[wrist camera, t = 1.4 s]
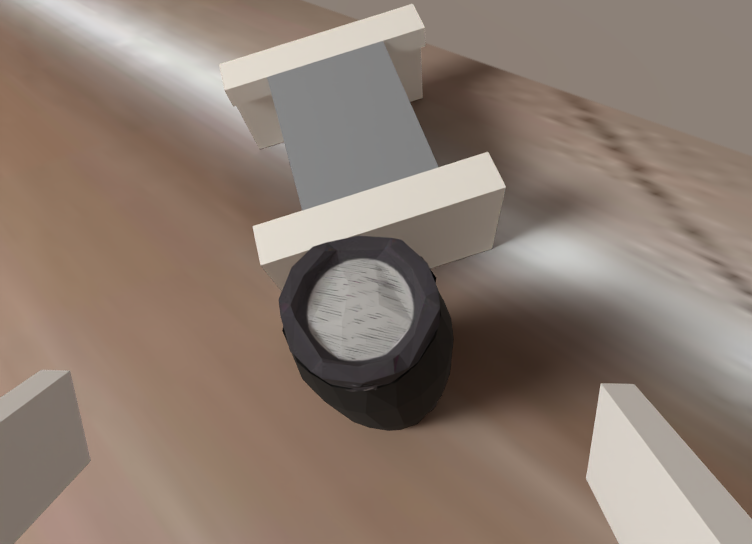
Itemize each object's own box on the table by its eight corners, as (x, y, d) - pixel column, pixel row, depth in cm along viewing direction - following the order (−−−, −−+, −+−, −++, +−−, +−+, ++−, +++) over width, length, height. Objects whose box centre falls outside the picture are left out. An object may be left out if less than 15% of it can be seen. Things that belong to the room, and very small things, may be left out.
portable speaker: (322, 368, 41) (235, 278, 24) (414, 315, 42) (397, 190, 25) (369, 460, 38) (308, 435, 20) (468, 399, 39) (494, 324, 21)
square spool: (492, 248, 44) (506, 187, 35) (297, 311, 44) (260, 265, 35) (417, 85, 53) (412, 3, 44) (256, 136, 53) (219, 64, 44)
